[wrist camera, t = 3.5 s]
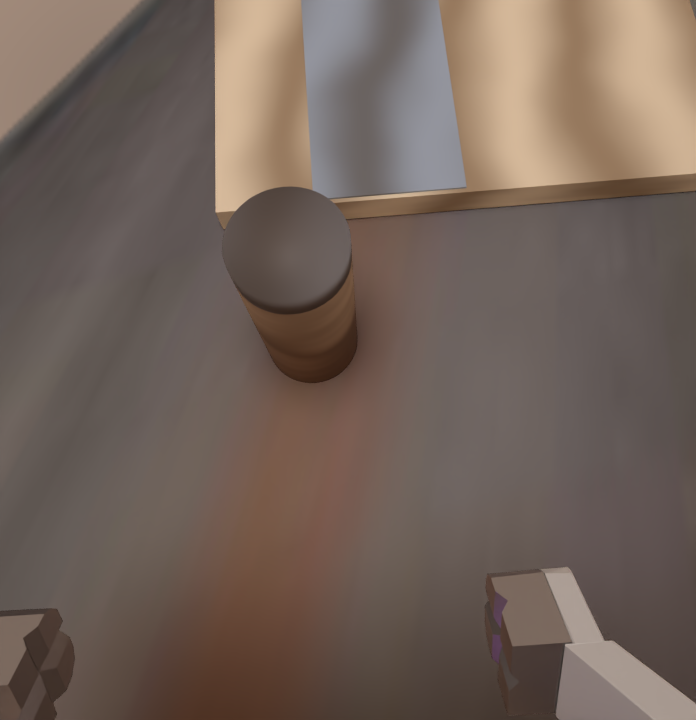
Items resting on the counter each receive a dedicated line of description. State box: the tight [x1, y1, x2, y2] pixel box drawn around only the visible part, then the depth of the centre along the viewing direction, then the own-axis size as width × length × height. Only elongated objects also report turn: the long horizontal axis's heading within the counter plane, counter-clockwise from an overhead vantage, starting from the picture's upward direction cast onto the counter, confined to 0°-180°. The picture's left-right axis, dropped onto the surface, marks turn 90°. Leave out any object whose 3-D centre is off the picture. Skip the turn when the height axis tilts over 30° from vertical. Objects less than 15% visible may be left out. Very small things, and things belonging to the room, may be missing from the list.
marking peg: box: [222, 186, 357, 383], centre depth 23 cm, size 4×4×9 cm
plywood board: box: [215, 0, 696, 229], centre depth 30 cm, size 24×14×2 cm, turn 94°
